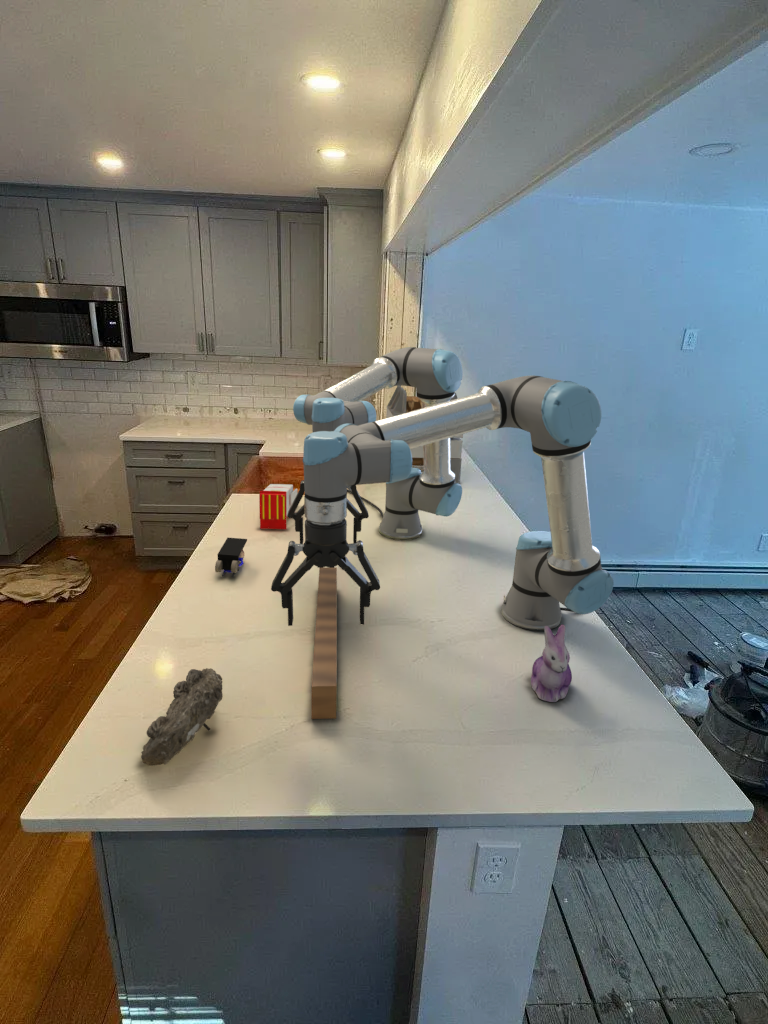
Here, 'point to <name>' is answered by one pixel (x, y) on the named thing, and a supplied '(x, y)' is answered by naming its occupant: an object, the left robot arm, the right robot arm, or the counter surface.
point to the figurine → (552, 668)
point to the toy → (275, 505)
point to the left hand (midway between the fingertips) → (328, 543)
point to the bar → (325, 647)
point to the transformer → (407, 404)
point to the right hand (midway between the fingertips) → (326, 621)
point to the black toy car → (230, 556)
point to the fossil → (183, 716)
